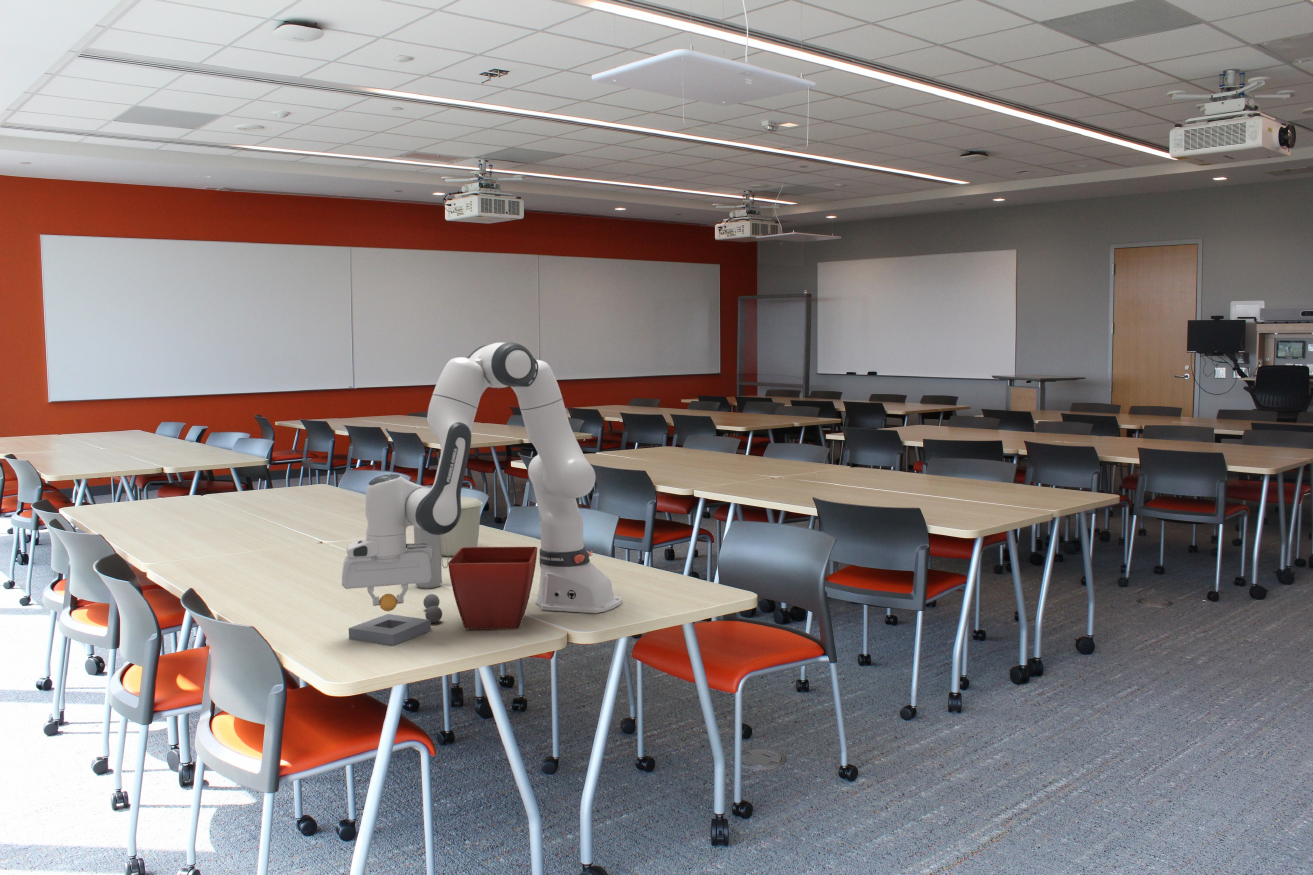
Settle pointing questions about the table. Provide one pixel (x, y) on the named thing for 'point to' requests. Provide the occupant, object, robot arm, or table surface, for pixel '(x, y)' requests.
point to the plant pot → (492, 585)
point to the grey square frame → (389, 629)
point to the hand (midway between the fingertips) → (388, 604)
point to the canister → (463, 528)
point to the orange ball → (388, 602)
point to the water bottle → (435, 543)
